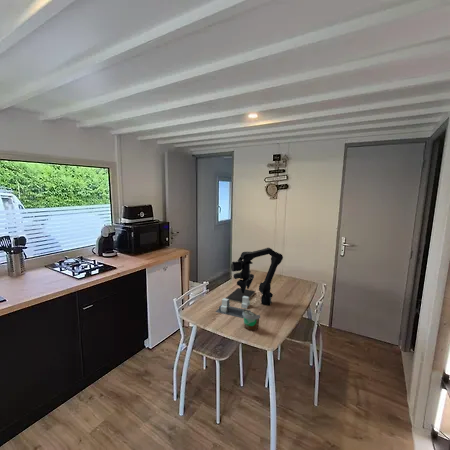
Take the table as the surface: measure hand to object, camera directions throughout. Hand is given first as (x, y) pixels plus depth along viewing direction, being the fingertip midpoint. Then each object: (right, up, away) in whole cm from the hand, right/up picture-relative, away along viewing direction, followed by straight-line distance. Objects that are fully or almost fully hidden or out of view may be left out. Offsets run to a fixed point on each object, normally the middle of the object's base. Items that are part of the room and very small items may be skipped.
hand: (245, 290), depth 183 cm
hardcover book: (-3, -10, +19) cm, 22 cm away
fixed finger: (-15, -12, -4) cm, 19 cm away
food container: (0, -16, -27) cm, 31 cm away
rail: (-9, -13, -6) cm, 17 cm away
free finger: (0, -12, +1) cm, 12 cm away
